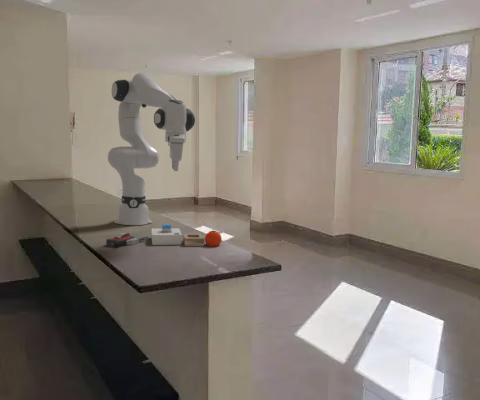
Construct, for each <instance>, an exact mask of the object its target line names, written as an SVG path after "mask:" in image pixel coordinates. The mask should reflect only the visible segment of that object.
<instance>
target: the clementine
mask: <svg viewBox="0 0 480 400" xmlns="http://www.w3.org/2000/svg"><path fill="white" fill-rule="evenodd" d="M204 238H205V239H204V243H206V245H207V246H209V247H218V246H220V245H221V244H222V235H221V234H220V232H219V231H216V230H213V229H212V230H210V231H208V232H207V233H206V234H205V237H204Z"/></svg>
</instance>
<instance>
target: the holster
mask: <svg viewBox="0 0 480 400" xmlns="http://www.w3.org/2000/svg"><path fill="white" fill-rule="evenodd" d="M182 243H183V245H184V247H193V246H194V247H204V246H205V237H204V235H203V234H202V233H182Z"/></svg>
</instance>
